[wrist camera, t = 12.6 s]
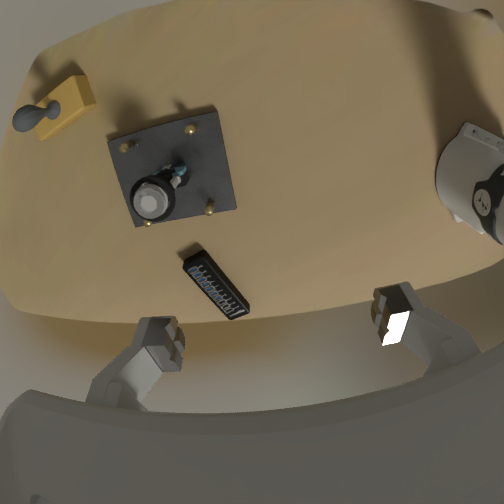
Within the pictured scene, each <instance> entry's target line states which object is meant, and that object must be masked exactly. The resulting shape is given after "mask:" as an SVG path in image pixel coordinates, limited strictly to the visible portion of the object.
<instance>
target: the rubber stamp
mask: <svg viewBox="0 0 504 504" xmlns="http://www.w3.org/2000/svg"><path fill="white" fill-rule="evenodd" d="M96 104H97V103H96V101H95V98H94V95H93V93H92V90H91V87H90V85H89V82H88V79H87V76H86V75H72V76H70V77H69V78H67V79H66V80H65V81H64V82H62V83H61V84H60V85H58V86H57V87H56V88H55V89H54V90H52V91H51V92H50V93H49V94H48V95H46V96H45V97H44V98H43V99H42V100H41V101H40V102H38V103H37V104H36V105H25V106H23V107H21V108H19V109H18V110H17V111H16V113H15V114H14V116H13V121H12V123H13V127H14V129H15V130H16V131H19V132H26V131H28V130H30V129H32V128H35V131H36V133H37V136H38V138H39V141H43V140H46V139H48V138H50V137H53V136H54V135H56V134H57V133H58V132H59V131H61V130H62V129H63V128H65V127H66V126H68V125H69V124H70V123H72V122H73V121H75V120H76V119H77V118H79V117H80V116H82V115H83V114H85V113H86V112H88V111H89V110H91V109H92V108H94V107H95V106H96Z"/></svg>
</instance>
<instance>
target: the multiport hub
mask: <svg viewBox="0 0 504 504" xmlns="http://www.w3.org/2000/svg"><path fill="white" fill-rule="evenodd" d="M182 268H183V270H184V271H185V272H186V273H187V274H188V275H189V277H190V278H191V279H192V280H193V281H194V282H195V283H196V284H197V285H198V287H199V288H200V289H201V290H202V291H203V292H204V293H205V294H206V295H207V296H208V298H209V299H210V300H211V301H212V302H213V303H214V304H215V305H216V306H217V307H218V308H219V309H220V311H221V312H222V313H223V314H224V315H225V316H226V317H227V318H228V319H229V320H233V319H236V318H238V317H241V316H243V315H246V314H248V313H249V312H250V304H249V303H248V302H247V301H246V299H245V298H244V297H243V296H242V295H241V293H240V292H239V291H238V290H237V289H236V287H235V286H234V285H233V284H232V282H231V281H230V280H229V279H228V278H227V276H226V275H225V274H224V273H223V271H222V270H221V269H220V268H219V266H218V265H217V264H216V263H215V261H214V260H213V259H212V258H211V256H210V255H209V254H208V253H207V251H205V250H202V251H200V252H198V253H196V254H194V255H193V256H191V257H189V258H187V259H185V260H184V264H183V267H182Z"/></svg>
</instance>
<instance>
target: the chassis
mask: <svg viewBox="0 0 504 504" xmlns="http://www.w3.org/2000/svg"><path fill="white" fill-rule="evenodd" d="M107 143H108V147H109V150H110V154H111V157H112V161H113V164H114V167H115V170H116V173H117V177H118V180H119V183H120V186H121V189H122V192H123V195H124V197H125V200H126V203H127V206H128V209H129V211H130V214H131V217H132V220H133V222H134V225H135V227H140V226H145V227H149V226H150V225H151V224H155V223H160V222H166V221H171V220H176V219H182V218H187V217H193V216H199V215H207V216H211V215H212V214H213V213H217V212H223V211H229V210H235V209H236V208H237V206H236V201H235V196H234V191H233V186H232V181H231V176H230V171H229V166H228V161H227V156H226V151H225V146H224V141H223V135H222V130H221V125H220V120H219V115H218V111H216V112H211V113H206V114H202V115H197V116H193V117H189V118H184V119H180V120H176V121H172V122H169V123H165V124H161V125H158V126H154V127H151V128H147V129H144V130H141V131H138V132H135V133H131V134H128V135H125V136H122V137H120V138H117V139H114V140H111V141H109V142H107ZM169 164H172V165H171V166H170V169H171V168H176V167H181V166H186V169H187V173H188V178H189V181H188V183H187V184H186V186H183V187H178V188H175V197H176V203H175V207H174V210H173V212H172V213H171V215H170V216H169V217H167V218H166V219H164V220H162V221H158V222H151V221H147V220H144V219H142V218H141V217H139V216H138V215H137V214H136V213H135V212H134V210H133V209H132V207H131V204H130V198H129V197H130V191H131V188H132V186H133V185H134V184H135V183H136V182H137V181H138V180H139V179H141V178H143V177H146V176H149V175H152V174H153V173H154V172H157V171H161V170H162V168H163V167H164V166H165V165H169ZM144 184H145V183H144ZM141 186H143V185H141ZM141 186H140V187H141ZM169 204H170V200H169V202H168V207H169ZM168 207H167V208H168Z"/></svg>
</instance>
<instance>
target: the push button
mask: <svg viewBox="0 0 504 504" xmlns="http://www.w3.org/2000/svg"><path fill="white" fill-rule="evenodd" d="M171 165H172V164H169V165H165V166H164V167H163V168H162V170H161V171H157V172H154V173H153V174H152V175H149V176H146V177H143V178H141V179H139V180H138V181H137V182H136V183H135V184H134V185H133V186H132V188H131V191H130V197H129V198H130V204H131V207H132V209H133V210H134V212H135V213H136V214H137V215H138V216H139V217H141V218H142V219H144V220H147V221H151V222H158V221H162V220H164V219H166V218H167V217H169V216H170V215H171V213H172V212H173V210H174V207H175V203H176V197H175V188H178V187H183V186H186V184H187V183H188V181H189V178H188V173H187V169H186V166H181V167H176V168H171V169H170V166H171ZM144 183H145V184H144ZM141 185H143V186H141ZM140 186H141V187H140ZM169 200H170V204H169V207H168V202H169ZM167 207H168V208H167Z"/></svg>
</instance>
